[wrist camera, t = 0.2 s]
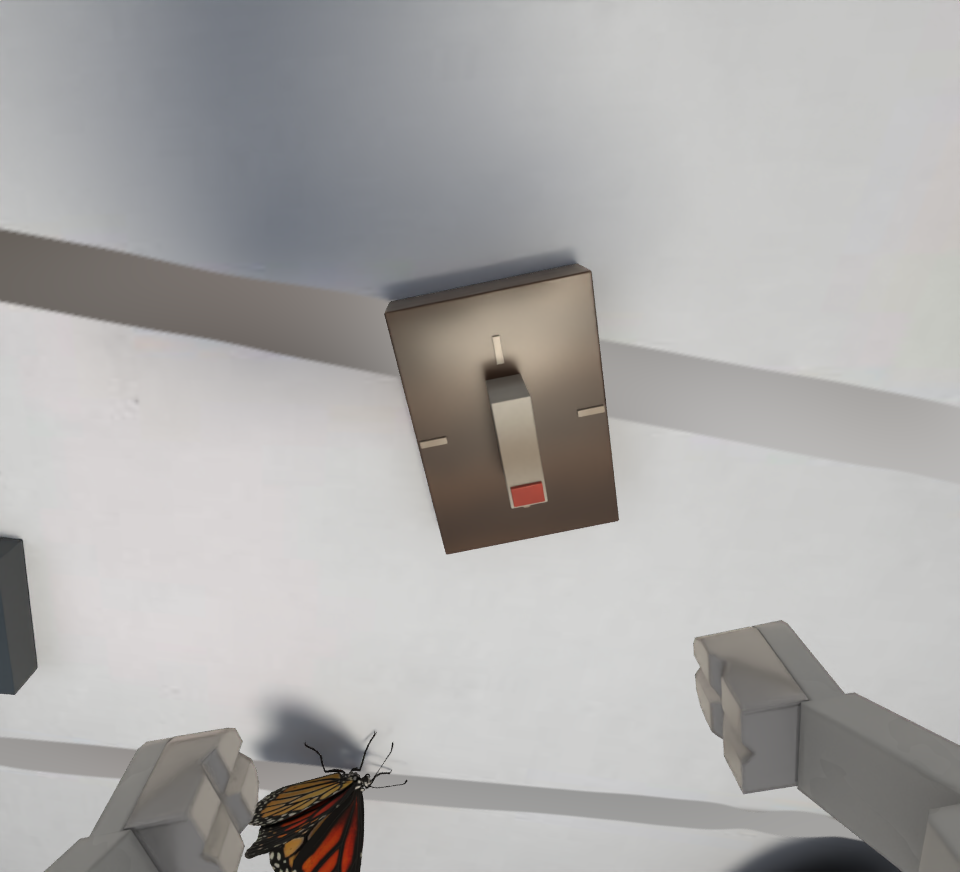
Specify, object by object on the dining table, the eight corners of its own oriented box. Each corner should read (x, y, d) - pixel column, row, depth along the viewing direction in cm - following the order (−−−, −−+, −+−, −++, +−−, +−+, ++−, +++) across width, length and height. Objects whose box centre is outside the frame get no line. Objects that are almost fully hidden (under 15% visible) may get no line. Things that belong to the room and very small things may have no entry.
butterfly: (422, 802, 45) (417, 958, 36) (300, 826, 45) (265, 987, 36) (380, 689, 40) (362, 836, 31) (245, 717, 41) (187, 870, 31)
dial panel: (389, 301, 30) (383, 313, 27) (577, 262, 30) (592, 270, 27) (445, 527, 36) (446, 557, 33) (605, 495, 35) (620, 522, 33)
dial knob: (485, 380, 29) (491, 405, 25) (520, 373, 29) (531, 397, 25) (504, 476, 31) (511, 511, 28) (537, 469, 31) (548, 504, 28)
